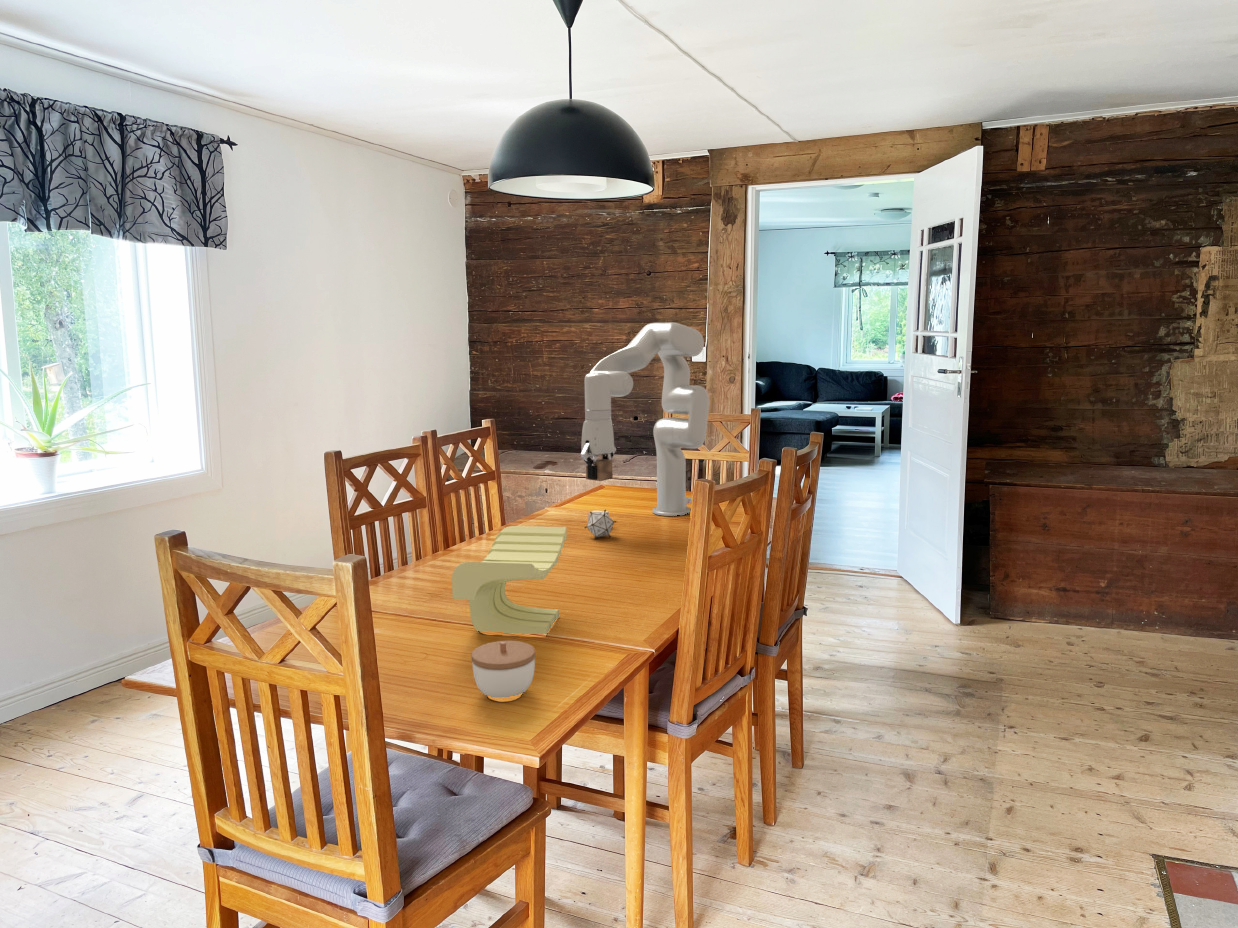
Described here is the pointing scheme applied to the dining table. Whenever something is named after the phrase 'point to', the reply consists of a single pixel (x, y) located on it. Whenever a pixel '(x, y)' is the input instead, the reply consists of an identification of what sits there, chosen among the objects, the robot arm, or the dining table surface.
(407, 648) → the dining table surface
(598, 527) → the game die
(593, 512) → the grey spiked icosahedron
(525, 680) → the lidded jar
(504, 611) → the slatted curved stool
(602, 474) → the walnut block
